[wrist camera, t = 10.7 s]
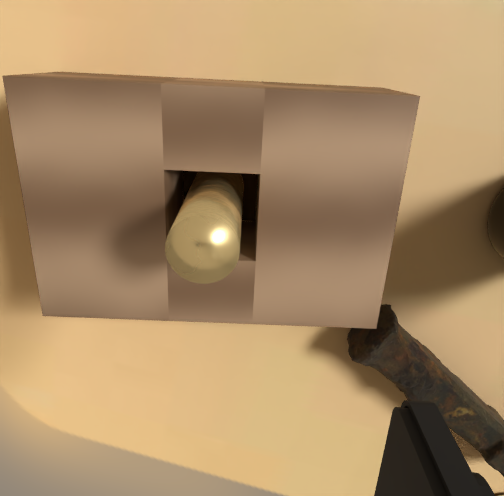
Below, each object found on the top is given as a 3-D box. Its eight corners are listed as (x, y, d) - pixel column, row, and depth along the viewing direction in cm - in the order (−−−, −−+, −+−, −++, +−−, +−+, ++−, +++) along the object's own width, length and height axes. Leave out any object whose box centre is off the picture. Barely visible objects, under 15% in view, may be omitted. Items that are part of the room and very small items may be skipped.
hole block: (352, 278, 29) (376, 328, 24) (82, 267, 29) (42, 315, 23) (382, 87, 25) (419, 96, 19) (59, 72, 24) (2, 75, 19)
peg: (242, 209, 27) (238, 285, 18) (194, 207, 27) (166, 282, 18) (244, 161, 26) (240, 216, 17) (194, 159, 26) (163, 213, 17)
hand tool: (338, 328, 31) (351, 371, 27) (382, 293, 30) (403, 333, 26) (486, 462, 37) (516, 516, 32) (528, 437, 35) (565, 489, 31)
